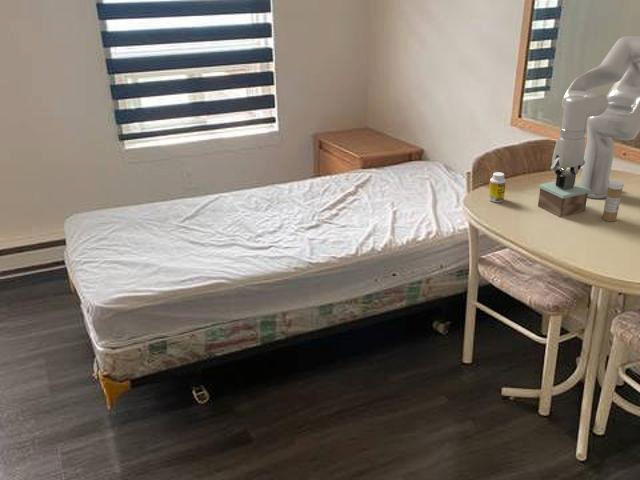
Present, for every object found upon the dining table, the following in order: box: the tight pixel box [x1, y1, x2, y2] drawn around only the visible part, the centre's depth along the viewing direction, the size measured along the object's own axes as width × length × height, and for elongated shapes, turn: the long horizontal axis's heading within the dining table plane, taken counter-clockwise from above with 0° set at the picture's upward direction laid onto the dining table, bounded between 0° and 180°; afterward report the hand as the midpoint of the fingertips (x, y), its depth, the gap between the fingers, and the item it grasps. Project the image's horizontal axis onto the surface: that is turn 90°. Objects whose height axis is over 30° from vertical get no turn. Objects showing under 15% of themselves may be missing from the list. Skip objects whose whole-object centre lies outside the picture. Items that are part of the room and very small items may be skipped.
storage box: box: [537, 188, 588, 218], centre depth 208 cm, size 11×11×7 cm
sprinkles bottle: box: [601, 179, 625, 222], centre depth 197 cm, size 5×5×13 cm
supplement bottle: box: [488, 171, 507, 203], centre depth 216 cm, size 6×6×10 cm
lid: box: [538, 170, 591, 199], centre depth 205 cm, size 12×12×7 cm
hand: (564, 184), depth 205 cm, fingers closed on lid, 4 cm apart
